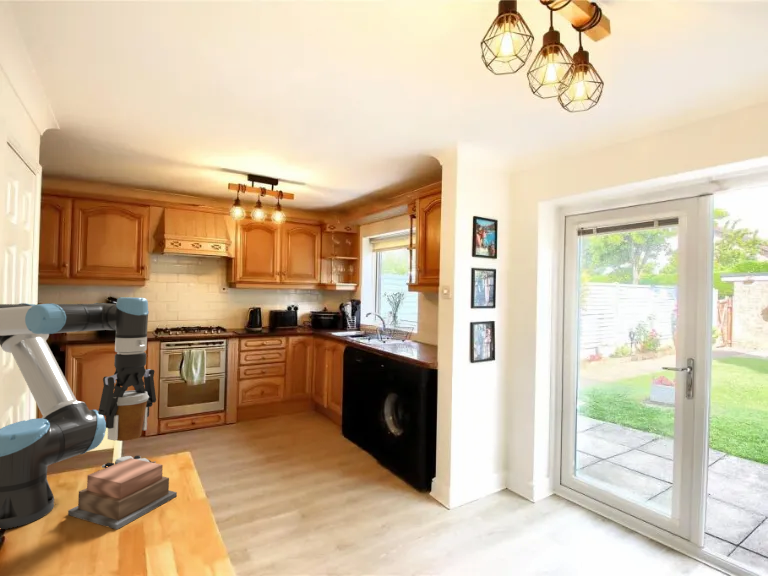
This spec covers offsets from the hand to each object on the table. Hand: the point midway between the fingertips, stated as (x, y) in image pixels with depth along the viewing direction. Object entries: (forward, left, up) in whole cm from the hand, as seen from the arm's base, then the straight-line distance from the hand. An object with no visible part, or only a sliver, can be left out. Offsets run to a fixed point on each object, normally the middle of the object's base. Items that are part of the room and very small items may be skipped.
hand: (127, 434), depth 112 cm
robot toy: (-18, +15, -20) cm, 31 cm away
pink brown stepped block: (0, 0, -19) cm, 19 cm away
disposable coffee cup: (0, 0, -1) cm, 1 cm away
